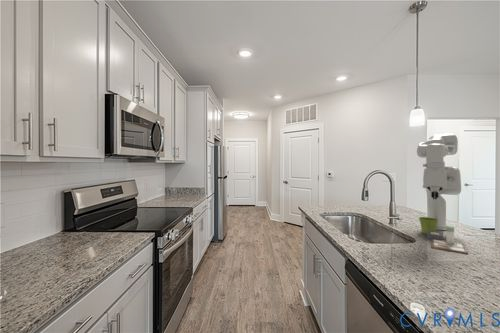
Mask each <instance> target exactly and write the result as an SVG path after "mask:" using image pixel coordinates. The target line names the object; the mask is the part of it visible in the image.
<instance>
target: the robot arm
mask: <svg viewBox="0 0 500 333" xmlns="http://www.w3.org/2000/svg"><path fill="white" fill-rule="evenodd" d="M458 143H459V141H458V137H457V135H456V134H454V133H444V134H443V133H442V134H434V135H431V136H430V137H429V139H428V140H426V141H423V142H420V143H419V144H418V145H417V149H416V155H417V157H419V158H420V159H423V158H425V163H423V164H422V167H425V168H424V170H423V176H422V177H423V178H422V181H423V182H422V184H423V185H422V188H423V189H425V193H426V214H427V215H426V217H429V218H435V219H438V221H437V224H436V230H437V231H446V226H447V201H446V200H445V198H444V197H443V196H442V195H448V196H450V195H451V196H452V195H453V196H457V195H460V194H461V192H462V179H461V175H462V174H461V171H460V169H459V168H458V167H456V166H446V163H445V160H444V157H446V156H453V155H456V154H457V152H458V147H459V146H458V145H459V144H458ZM436 230H435V231H436Z"/></svg>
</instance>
